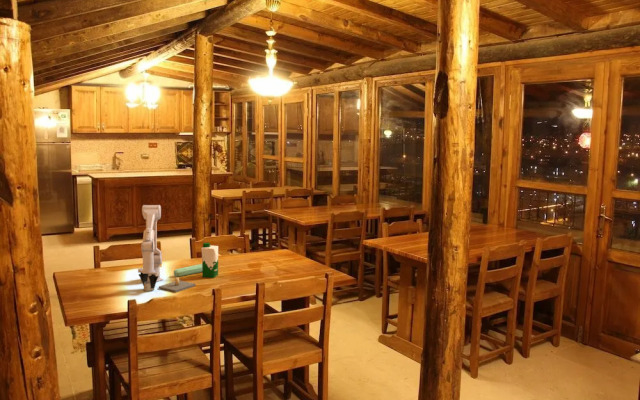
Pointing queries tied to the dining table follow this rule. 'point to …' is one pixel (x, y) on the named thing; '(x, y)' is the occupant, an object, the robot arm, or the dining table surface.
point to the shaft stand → (177, 286)
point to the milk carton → (209, 260)
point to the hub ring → (147, 286)
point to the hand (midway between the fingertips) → (149, 286)
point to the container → (188, 270)
